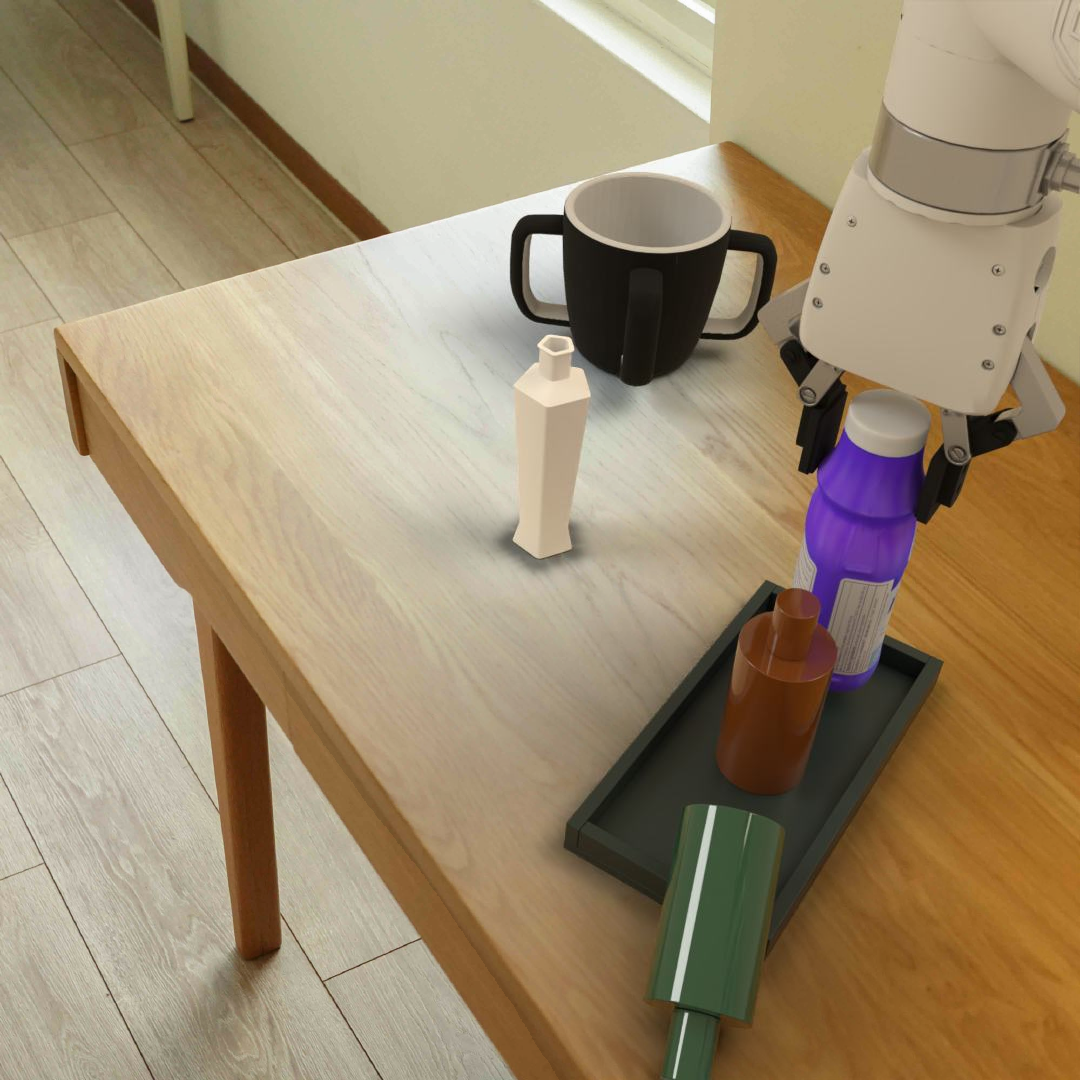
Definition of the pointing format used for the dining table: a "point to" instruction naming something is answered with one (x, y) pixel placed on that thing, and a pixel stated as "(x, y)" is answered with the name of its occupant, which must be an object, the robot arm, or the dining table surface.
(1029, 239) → the robot arm
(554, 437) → the perfume bottle
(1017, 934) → the dining table surface
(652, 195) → the mug
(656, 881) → the tray
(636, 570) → the dining table surface
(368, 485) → the dining table surface
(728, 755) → the middle bottle
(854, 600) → the bottle
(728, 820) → the green bottle
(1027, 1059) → the dining table surface
